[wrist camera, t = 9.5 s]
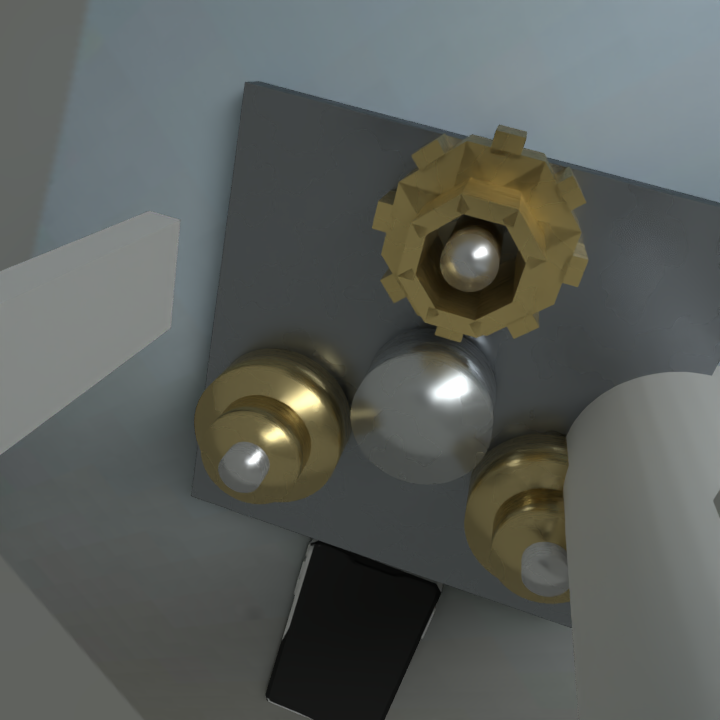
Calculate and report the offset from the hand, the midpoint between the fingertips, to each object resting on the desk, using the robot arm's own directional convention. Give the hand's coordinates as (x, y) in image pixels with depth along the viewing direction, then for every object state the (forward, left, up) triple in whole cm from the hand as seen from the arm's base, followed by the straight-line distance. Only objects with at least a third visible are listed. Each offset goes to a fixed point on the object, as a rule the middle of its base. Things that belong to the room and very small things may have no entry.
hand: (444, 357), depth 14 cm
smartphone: (+27, 0, -17) cm, 32 cm away
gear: (0, 0, -14) cm, 14 cm away
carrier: (+8, 0, -16) cm, 18 cm away
